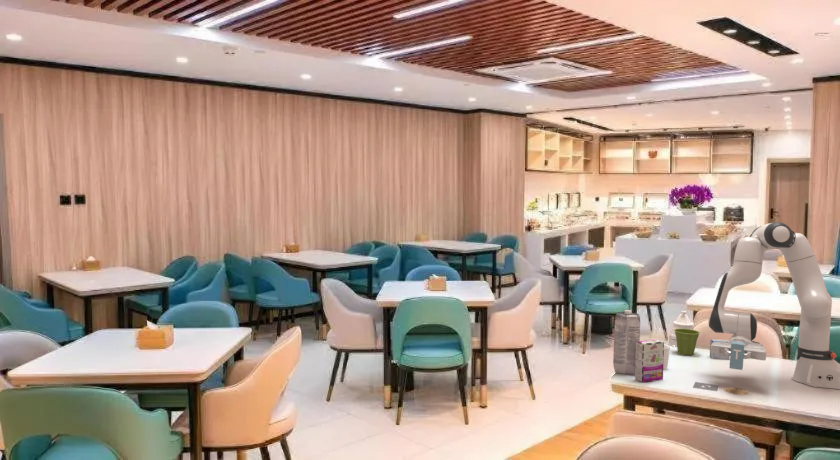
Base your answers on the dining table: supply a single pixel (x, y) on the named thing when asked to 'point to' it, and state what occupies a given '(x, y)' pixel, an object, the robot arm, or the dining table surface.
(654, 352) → the candy bar box
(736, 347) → the letter block
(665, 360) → the white cup
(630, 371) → the juice carton
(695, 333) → the plant pot
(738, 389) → the coaster
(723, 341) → the medicine box
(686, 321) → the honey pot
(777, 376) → the dining table surface
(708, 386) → the tile
